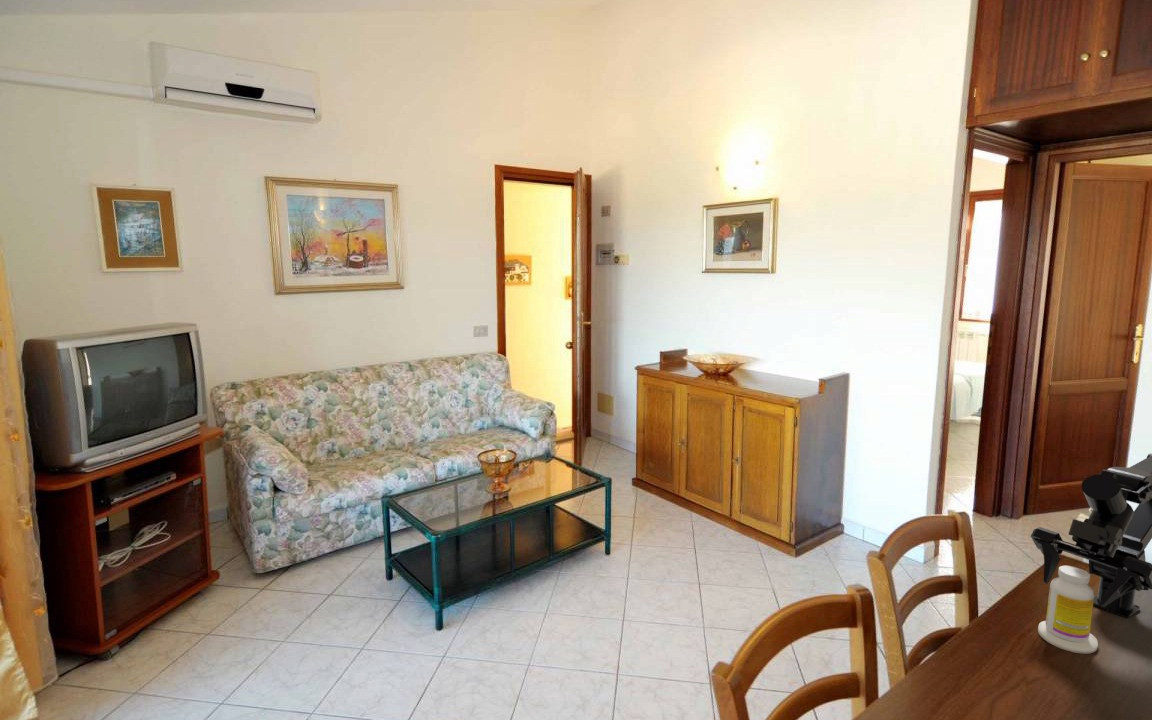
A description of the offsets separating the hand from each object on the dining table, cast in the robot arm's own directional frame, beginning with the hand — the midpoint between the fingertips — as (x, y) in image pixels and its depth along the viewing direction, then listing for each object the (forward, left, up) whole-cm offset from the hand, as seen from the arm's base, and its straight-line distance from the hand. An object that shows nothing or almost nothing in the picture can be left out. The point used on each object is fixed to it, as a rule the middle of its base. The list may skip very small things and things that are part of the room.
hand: (1072, 593), depth 117 cm
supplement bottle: (0, 0, -9) cm, 9 cm away
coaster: (0, 0, -9) cm, 9 cm away
